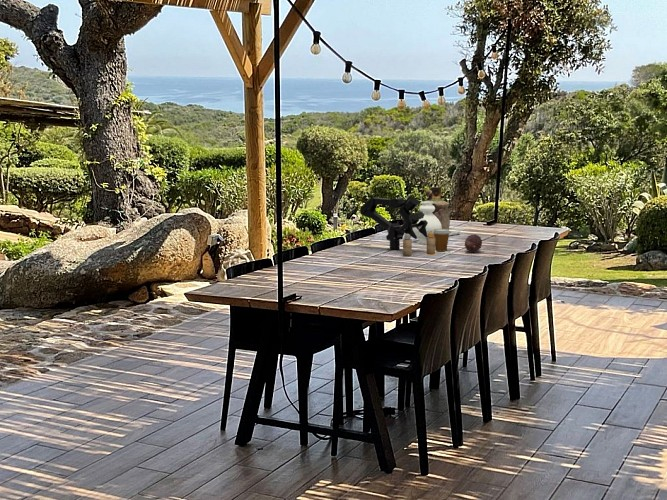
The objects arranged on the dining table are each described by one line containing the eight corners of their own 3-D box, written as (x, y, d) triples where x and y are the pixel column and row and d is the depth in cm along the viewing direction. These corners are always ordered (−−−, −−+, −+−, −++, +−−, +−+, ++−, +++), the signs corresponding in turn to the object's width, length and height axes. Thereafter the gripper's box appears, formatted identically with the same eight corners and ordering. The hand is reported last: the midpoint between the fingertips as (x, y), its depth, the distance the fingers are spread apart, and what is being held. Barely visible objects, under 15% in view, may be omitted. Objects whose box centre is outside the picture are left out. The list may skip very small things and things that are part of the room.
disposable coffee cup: (448, 251, 493) (449, 231, 491) (432, 251, 494) (432, 230, 493) (450, 249, 502) (450, 228, 500) (433, 248, 504) (433, 228, 502)
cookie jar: (431, 231, 581) (432, 183, 576) (461, 234, 564) (462, 185, 559) (408, 234, 563) (408, 185, 558) (438, 238, 546) (439, 187, 541)
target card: (396, 256, 478) (396, 254, 478) (431, 253, 487) (431, 252, 487) (406, 259, 468) (406, 257, 468) (441, 256, 477) (441, 254, 477)
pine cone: (466, 249, 503) (466, 232, 501) (483, 249, 500) (484, 232, 499) (462, 253, 486) (462, 236, 484) (480, 254, 483) (480, 236, 482)
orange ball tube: (425, 253, 482) (425, 231, 480) (433, 253, 483) (433, 231, 482) (428, 254, 478) (428, 232, 476) (436, 254, 479) (436, 232, 477)
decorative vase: (441, 240, 536) (441, 200, 532) (441, 244, 519) (442, 203, 515) (412, 240, 538) (412, 200, 534) (412, 244, 521) (412, 203, 517)
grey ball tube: (401, 255, 476) (401, 233, 474) (408, 254, 477) (409, 232, 476) (405, 256, 471) (405, 234, 469) (413, 256, 473) (413, 234, 471)
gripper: (404, 208, 478) (419, 230, 472) (425, 205, 491) (440, 227, 485) (393, 221, 485) (408, 243, 479) (414, 218, 498) (429, 239, 492)
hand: (421, 237), depth 484 cm, fingers open, 9 cm apart
